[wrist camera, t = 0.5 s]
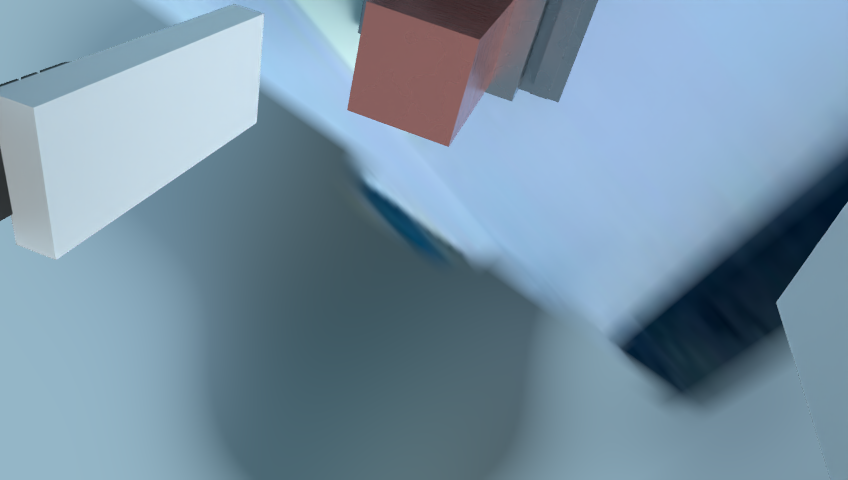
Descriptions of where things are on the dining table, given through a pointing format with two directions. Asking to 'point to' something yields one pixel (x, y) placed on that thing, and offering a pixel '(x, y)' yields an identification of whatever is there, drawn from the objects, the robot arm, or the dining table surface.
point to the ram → (440, 60)
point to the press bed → (552, 46)
